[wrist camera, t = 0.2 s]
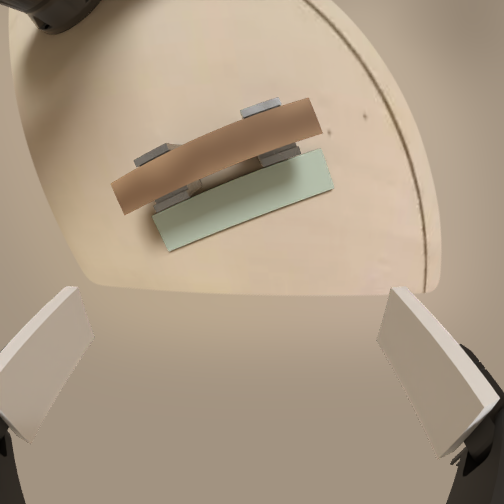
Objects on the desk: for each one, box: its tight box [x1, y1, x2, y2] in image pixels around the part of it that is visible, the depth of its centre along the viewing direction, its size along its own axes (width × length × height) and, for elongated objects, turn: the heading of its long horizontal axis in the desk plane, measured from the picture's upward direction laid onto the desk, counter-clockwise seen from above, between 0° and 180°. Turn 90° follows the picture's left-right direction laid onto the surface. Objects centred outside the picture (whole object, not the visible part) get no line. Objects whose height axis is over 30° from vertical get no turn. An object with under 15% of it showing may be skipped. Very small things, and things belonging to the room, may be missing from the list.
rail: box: [111, 98, 322, 215], centre depth 24 cm, size 4×20×4 cm, turn 112°
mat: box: [152, 148, 334, 251], centre depth 34 cm, size 6×24×1 cm, turn 111°
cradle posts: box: [134, 97, 301, 213], centre depth 29 cm, size 6×16×8 cm, turn 111°
